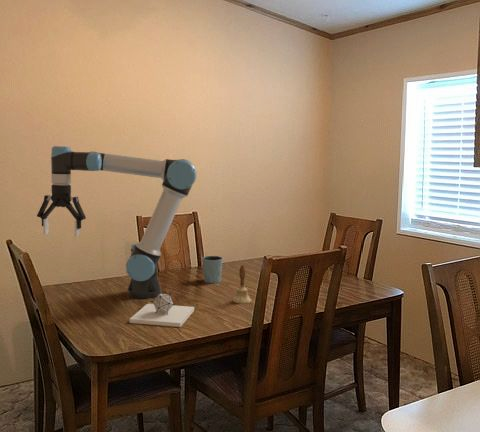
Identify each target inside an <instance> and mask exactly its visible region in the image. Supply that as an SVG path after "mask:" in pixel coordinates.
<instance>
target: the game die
mask: <svg viewBox="0 0 480 432" xmlns="http://www.w3.org/2000/svg"><path fill="white" fill-rule="evenodd" d="M171 294H172V292H169V294H168V293H161V294H160V292H159V295H158V296H156V297H154V299H153V300H151V301H150V303H152V304H154V306H155V309H156V313H157V312H164V313H166V314H167V315H168V313H167V312H168V311H169V310H170V308H171V307H172V306H173V305H175V306H176V304H175V303H174V301H173V300H172V297H171Z"/></svg>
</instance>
